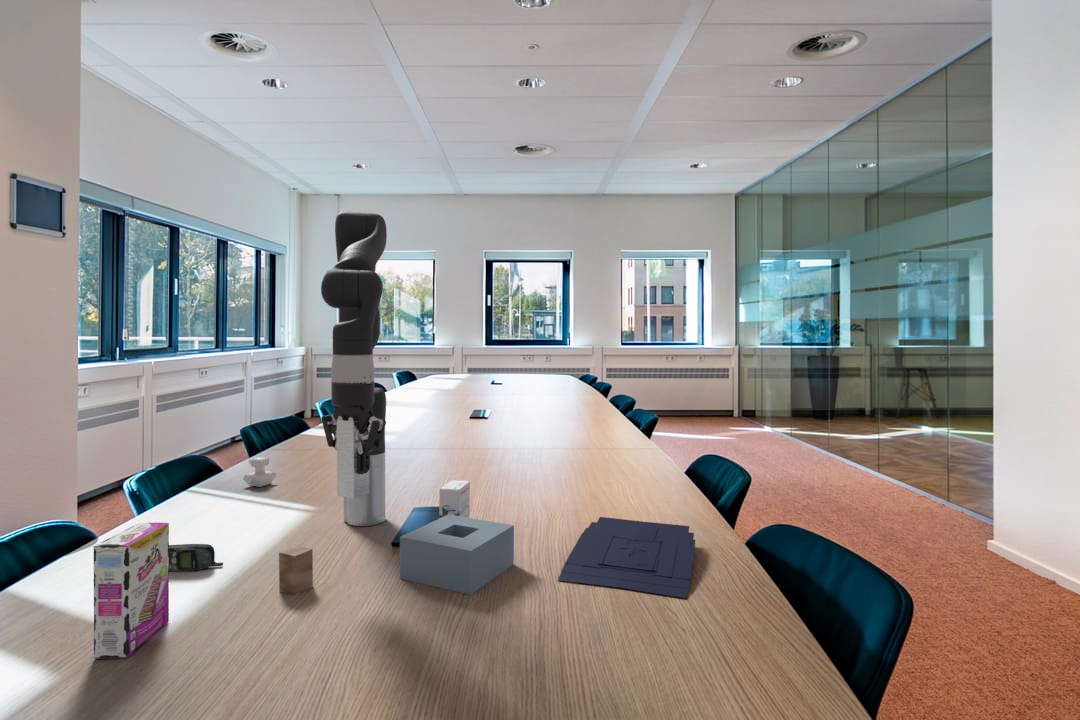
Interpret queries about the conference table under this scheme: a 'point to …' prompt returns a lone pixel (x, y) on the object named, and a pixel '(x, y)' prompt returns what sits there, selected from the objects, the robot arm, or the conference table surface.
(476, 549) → the hole block
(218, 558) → the conference table surface
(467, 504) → the ink box
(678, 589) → the navy flat slab
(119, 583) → the candy bar box
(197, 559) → the mobile phone
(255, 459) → the stamp
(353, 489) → the long steel pin
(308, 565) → the short walnut pin
